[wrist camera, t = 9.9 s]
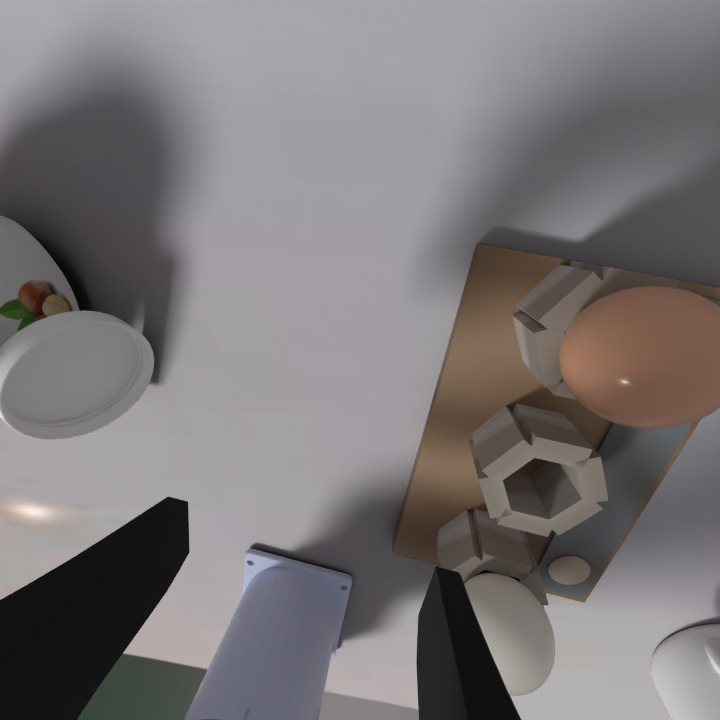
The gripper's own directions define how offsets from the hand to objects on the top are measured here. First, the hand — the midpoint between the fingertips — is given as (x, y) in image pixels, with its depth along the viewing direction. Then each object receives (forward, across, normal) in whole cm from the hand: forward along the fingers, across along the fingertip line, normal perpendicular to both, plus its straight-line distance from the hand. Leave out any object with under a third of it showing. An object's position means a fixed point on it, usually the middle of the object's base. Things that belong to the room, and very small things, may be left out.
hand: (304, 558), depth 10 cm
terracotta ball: (+5, -9, -6) cm, 12 cm away
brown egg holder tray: (+10, -10, 0) cm, 14 cm away
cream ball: (+5, -9, +8) cm, 13 cm away
